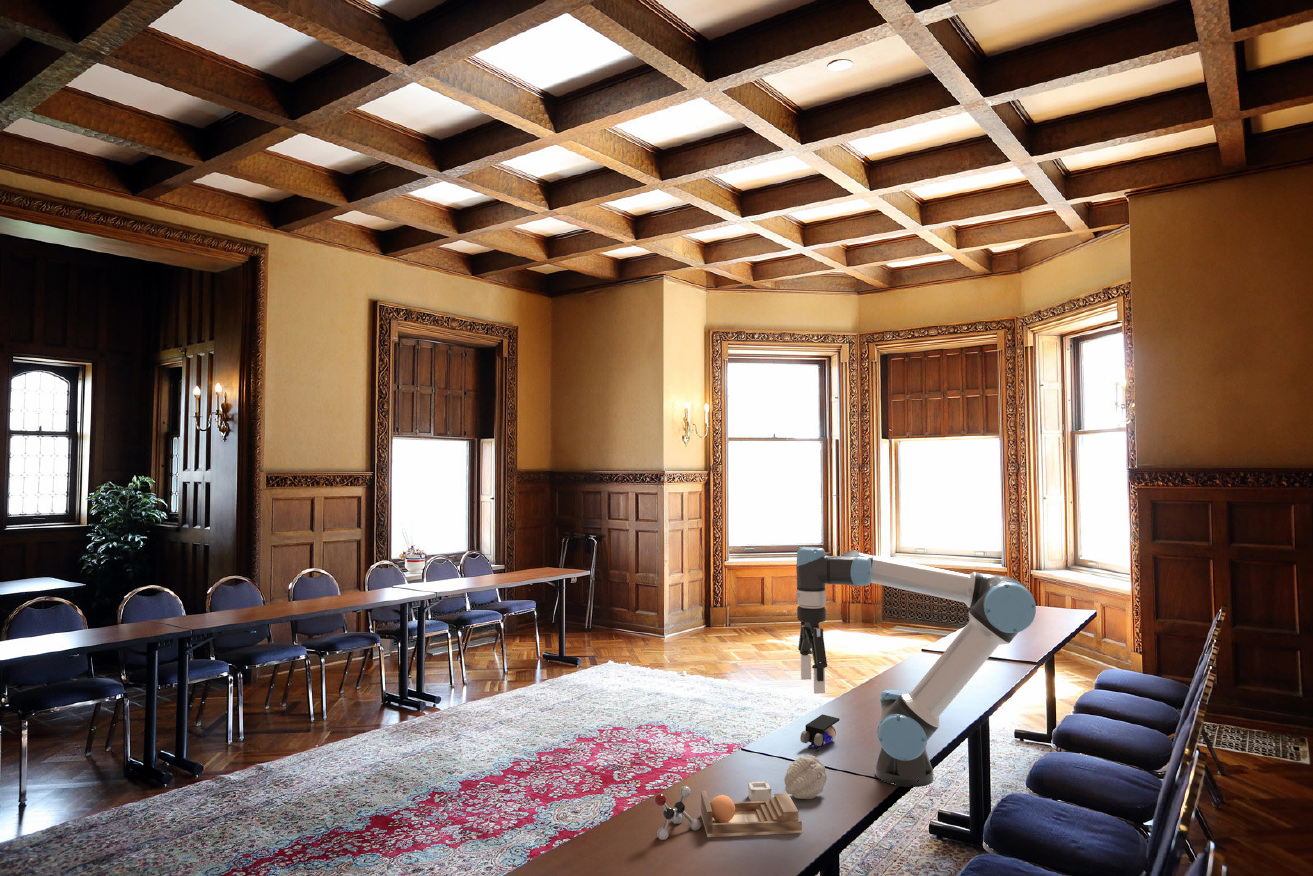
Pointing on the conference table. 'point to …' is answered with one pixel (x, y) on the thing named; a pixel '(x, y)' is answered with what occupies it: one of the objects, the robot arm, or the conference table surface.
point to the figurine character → (819, 731)
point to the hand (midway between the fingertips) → (812, 686)
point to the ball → (722, 808)
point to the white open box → (759, 791)
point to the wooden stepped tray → (754, 817)
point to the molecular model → (676, 816)
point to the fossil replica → (805, 777)
